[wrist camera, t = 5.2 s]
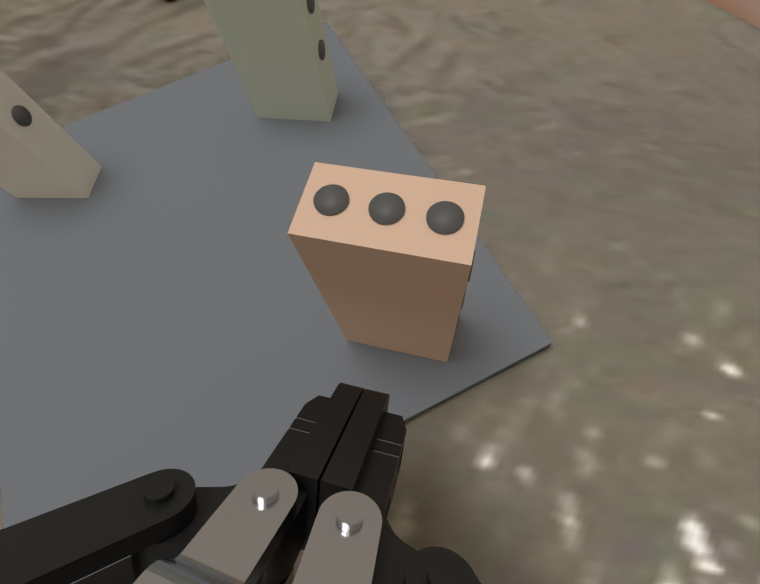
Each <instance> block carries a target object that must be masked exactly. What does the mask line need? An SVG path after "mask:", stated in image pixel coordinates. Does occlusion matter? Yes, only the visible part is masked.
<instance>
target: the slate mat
mask: <svg viewBox="0 0 760 584" xmlns="http://www.w3.org/2000/svg"><path fill="white" fill-rule="evenodd" d="M323 26H324V30H325V35H326V40H327V44H328V49H329V53H330V58H331V63H332V67H333V72H334V77H335V81H336V86H337V91H338V96H337V100H336V103H335V107H334V111H333V114H332V118H331V122H330V121H310V120H290V119H270V118H257V115H256V113H255V111H254V109H253V107H252V104H251V102H250V100H249V98H248V96H247V94H246V91H245V89H244V87H243V85H242V83H241V80H240V78H239V76H238V74H237V72H236V70H235V67H234V65H233V63H232V61H231V59H230V60H228V61H225V62H223V63H220V64H218V65H215V66H213V67H210V68H208V69H205V70H203V71H200V72H198V73H195V74H193V75H190V76H188V77H185V78H183V79H180V80H178V81H175V82H173V83H170V84H168V85H165V86H163V87H160V88H158V89H155V90H153V91H150V92H148V93H145V94H143V95H140V96H138V97H136V98H133V99H131V100H128V101H126V102H123V103H121V104H118V105H116V106H113V107H111V108H108V109H106V110H103V111H101V112H98V113H96V114H93V115H91V116H88V117H86V118H83V119H81V120H78V121H76V122H73V123H71V124H68V125H66V126H63V127H61V128H62V129H63V130H64V131H65V132H66V133H68V134H69V135H70V136H71V137H72V138H73V139H74V140H75V141H76V142H77V143H78V144H79V145H80V146H81V147H82V148H83V149H84V150H85V151H86V152H87V153H88V154H89V155H90V156H91V157H93V158H94V159H95V160H96V161H97V162H98V163H99V164H100V165H101V166H102V167H101V170H100V172H99V174H98V177H97V179H96V181H95V184H94V186H93V188H92V191H91V193H90V195H89V198H16V197H15V196H13V195H12V194H10V193H9V192H7V191H6V190H4V189H3V188H1V187H0V486H1V500H2V515H3V529H4V528H7V527H10V526H12V525H15V524H18V523H20V522H23V521H25V520H28V519H31V518H33V517H36V516H39V515H41V514H44V513H47V512H49V511H52V510H54V509H57V508H60V507H62V506H65V505H68V504H70V503H73V502H76V501H78V500H81V499H83V498H86V497H89V496H91V495H94V494H97V493H99V492H102V491H105V490H107V489H110V488H112V487H115V486H118V485H120V484H123V483H126V482H128V481H131V480H134V479H136V478H139V477H141V476H144V475H147V474H149V473H152V472H155V471H158V470H163V469H180V470H183V471H186V472H187V473H189V474H190V475H191V476H192V477H193V479H194V481H195V486H196V487H225V486H232V485H236V484H238V483H239V482H240V481H241V480H242V479H243V478H244V477H246V476H247V475H249V474H250V473H252V472H255V471H257V470H260V469H261V468H262V467H263V466H264V464H265V463H266V461H267V460H268V458H269V457H270V455H271V454H272V452H273V451H274V449H275V448H276V446H277V445H278V443H279V442H280V440H281V439H282V437H283V436H284V434H285V433H286V431H287V430H288V429H289V428H290V426H291V424H292V423H293V421H294V420H295V419H296V418H297V415H298V414H299V412H300V411H301V409H302V408H303V406H304V405H305V404H306V403H307V402H309V401H310V400H312V399H314V398H315V397H317V396H318V395H320V396H324V397H328V398H331V396H332V394H333V393H334V391H335V389H336V387H337V386H338V384H339V383H345V384H349V385H353V386H357V387H361V388H364V390H365V389H369V390H374V391H378V392H382V393H386V394H389V405H388V413H392V414H396V415H400V416H403V420H404V422H405V421H407V420H409V419H411V418H412V417H414V416H416V415H418V414H420V413H422V412H424V411H426V410H428V409H430V408H432V407H433V406H435V405H437V404H439V403H441V402H443V401H445V400H447V399H449V398H451V397H452V396H454V395H456V394H458V393H460V392H462V391H464V390H466V389H468V388H470V387H472V386H473V385H475V384H477V383H479V382H481V381H483V380H485V379H487V378H489V377H491V376H493V375H494V374H496V373H498V372H500V371H502V370H504V369H506V368H508V367H510V366H512V365H514V364H515V363H517V362H519V361H521V360H523V359H525V358H527V357H529V356H531V355H533V354H535V353H536V352H538V351H540V350H542V349H544V348H546V347H548V346H550V345H551V344H552V343H553V342H552V340H551V339H550V337H549V336H548V335H547V333H546V332H545V330H544V329H543V328H542V326H541V325H540V323H539V322H538V321H537V319H536V318H535V316H534V315H533V313H532V312H531V311H530V309H529V308H528V306H527V305H526V304H525V302H524V301H523V299H522V298H521V296H520V295H519V294H518V292H517V291H516V289H515V288H514V287H513V285H512V284H511V282H510V281H509V279H508V278H507V277H506V275H505V274H504V272H503V271H502V270H501V268H500V267H499V265H498V264H497V262H496V261H495V260H494V258H493V257H492V255H491V254H490V253H489V251H488V250H487V248H486V247H485V245H484V244H483V243H482V241H481V240H480V238H479V237H478V236H477V238H476V243H475V249H474V251H475V256H474V262H473V267H472V272H471V277H470V281H469V282H467V288H466V293H465V298H464V303H463V307H462V308H461V311H460V317H459V322H458V326H457V328H456V329H455V333H454V337H453V341H452V345H451V349H450V353H449V357H448V360H447V362H444V361H439V360H434V359H430V358H425V357H421V356H416V355H412V354H407V353H402V352H398V351H393V350H389V349H384V348H379V347H375V346H370V345H366V344H361V343H357V342H352V341H347V340H346V338H345V336H344V334H343V332H342V331H341V329H340V327H339V325H338V323H337V322H336V320H335V318H334V316H333V314H332V313H331V311H330V309H329V307H328V305H327V304H326V302H325V300H324V298H323V296H322V295H321V293H320V291H319V289H318V287H317V286H316V284H315V282H314V280H313V278H312V277H311V275H310V273H309V271H308V269H307V268H306V266H305V264H304V262H303V260H302V259H301V257H300V255H299V253H298V251H297V250H296V248H295V246H294V244H293V242H292V241H291V239H290V237H289V235H288V231H289V228H290V225H291V223H292V220H293V218H294V215H295V212H296V210H297V207H298V205H299V202H300V199H301V197H302V194H303V192H304V189H305V186H306V184H307V181H308V179H309V176H310V174H311V171H312V168H313V166H314V163H315V162H318V163H325V164H332V165H339V166H347V167H354V168H361V169H368V170H375V171H382V172H390V173H397V174H404V175H411V176H418V177H425V178H433V179H437V178H436V176H435V175H434V173H433V172H432V170H431V169H430V168H429V166H428V165H427V163H426V162H425V161H424V159H423V158H422V156H421V155H420V153H419V152H418V151H417V149H416V148H415V146H414V145H413V144H412V142H411V141H410V139H409V138H408V137H407V135H406V134H405V132H404V131H403V129H402V128H401V127H400V125H399V124H398V122H397V121H396V120H395V118H394V117H393V115H392V114H391V112H390V111H389V110H388V108H387V107H386V105H385V104H384V103H383V101H382V100H381V98H380V97H379V95H378V94H377V93H376V91H375V90H374V88H373V87H372V86H371V84H370V83H369V81H368V80H367V78H366V77H365V76H364V74H363V73H362V71H361V70H360V69H359V67H358V66H357V64H356V63H355V62H354V60H353V59H352V57H351V56H350V54H349V53H348V52H347V50H346V49H345V47H344V46H343V45H342V43H341V42H340V40H339V39H338V37H337V36H336V35H335V33H334V32H333V30H332V29H331V28H330V26H329V25H328V23H327V22H326V21H325V22H323ZM128 557H130V556H128ZM126 558H127V557H126ZM124 559H125V558H124ZM122 560H123V559H122ZM120 561H121V560H120ZM117 562H119V561H117ZM117 562H115V563H117ZM115 563H113V564H115ZM113 564H111V565H113ZM111 565H109V566H111ZM109 566H107V567H109ZM107 567H105V568H107ZM103 569H104V568H103ZM101 570H102V569H101ZM99 571H100V570H99ZM96 572H98V571H96ZM96 572H94V573H96ZM94 573H92V574H94ZM92 574H90V575H92ZM90 575H88V576H90ZM88 576H86V577H88ZM86 577H84V578H86ZM82 579H83V578H82ZM80 580H81V579H80ZM77 581H79V580H77ZM77 581H75V582H77ZM75 582H73V583H75ZM73 583H71V584H73Z"/></svg>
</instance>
